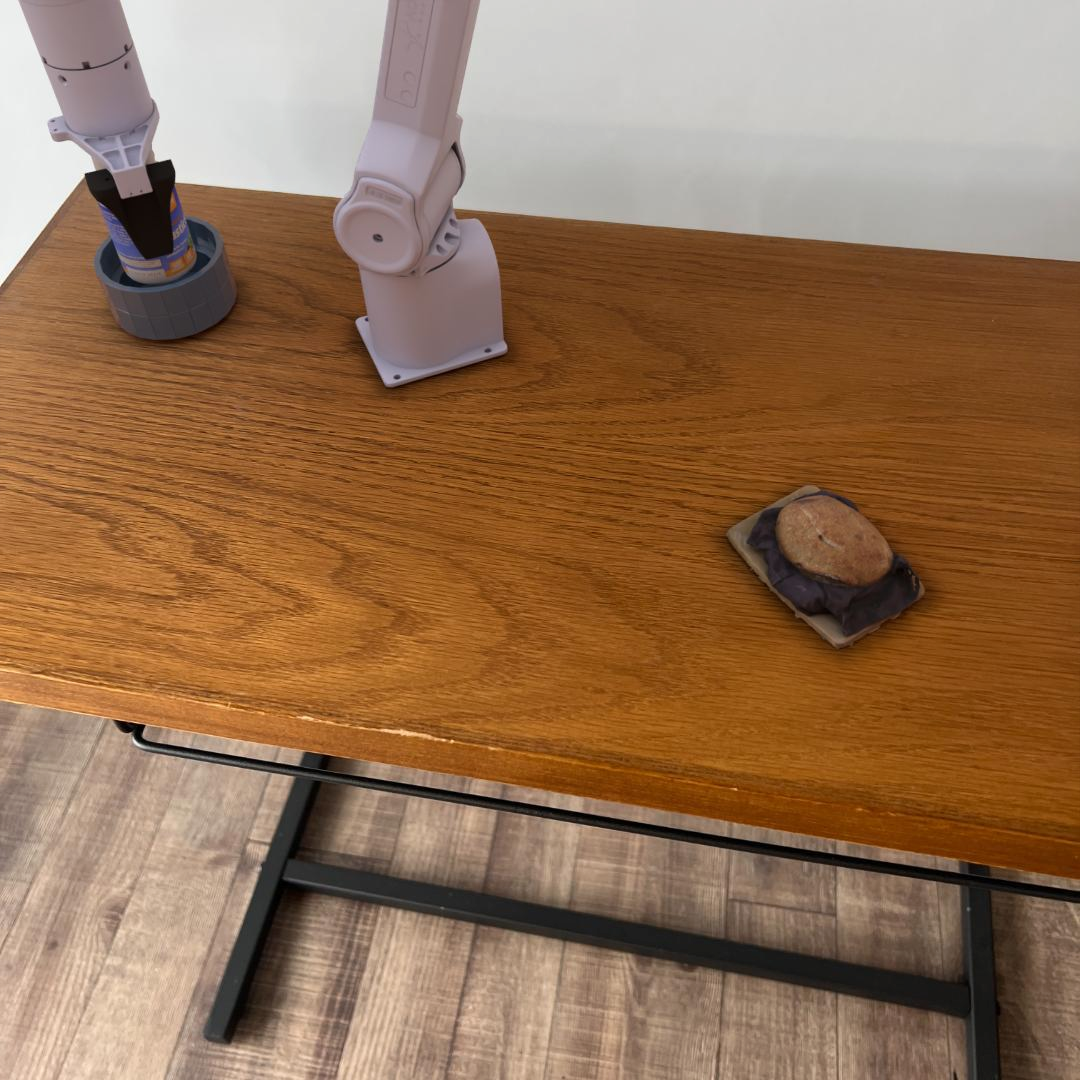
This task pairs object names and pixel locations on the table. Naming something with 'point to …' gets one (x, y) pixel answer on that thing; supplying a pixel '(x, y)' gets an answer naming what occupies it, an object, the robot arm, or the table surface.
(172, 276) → the pill bottle
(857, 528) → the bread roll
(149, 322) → the bowl
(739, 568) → the table surface
